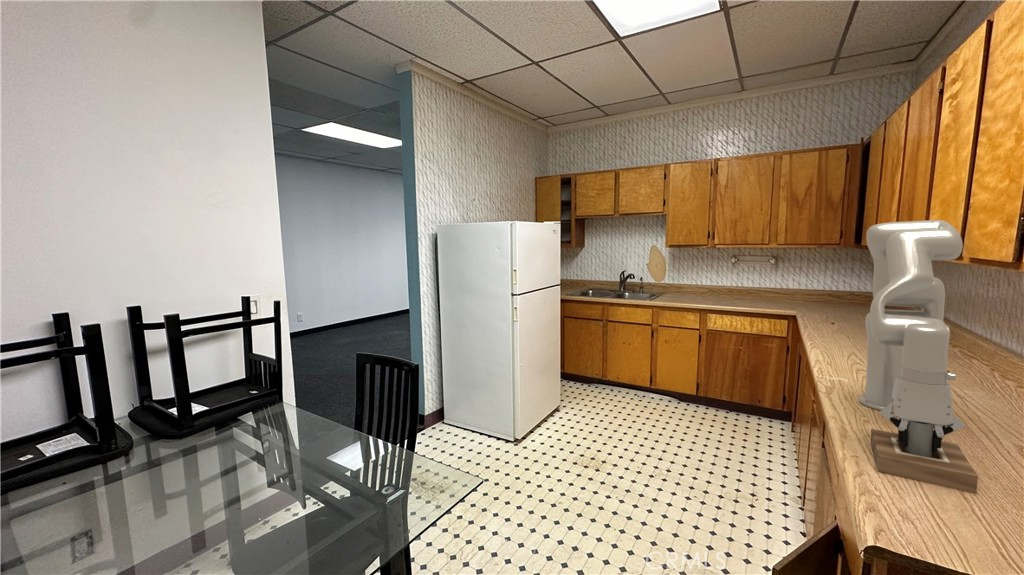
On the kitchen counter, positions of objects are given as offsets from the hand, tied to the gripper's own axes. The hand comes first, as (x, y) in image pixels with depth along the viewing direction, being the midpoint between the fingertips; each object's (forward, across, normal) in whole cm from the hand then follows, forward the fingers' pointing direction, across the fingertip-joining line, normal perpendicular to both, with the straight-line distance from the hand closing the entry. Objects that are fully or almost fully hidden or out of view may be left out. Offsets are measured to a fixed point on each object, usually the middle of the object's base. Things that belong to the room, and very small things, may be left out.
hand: (918, 446), depth 98 cm
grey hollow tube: (+4, 0, 0) cm, 4 cm away
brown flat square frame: (+5, 0, 0) cm, 5 cm away
